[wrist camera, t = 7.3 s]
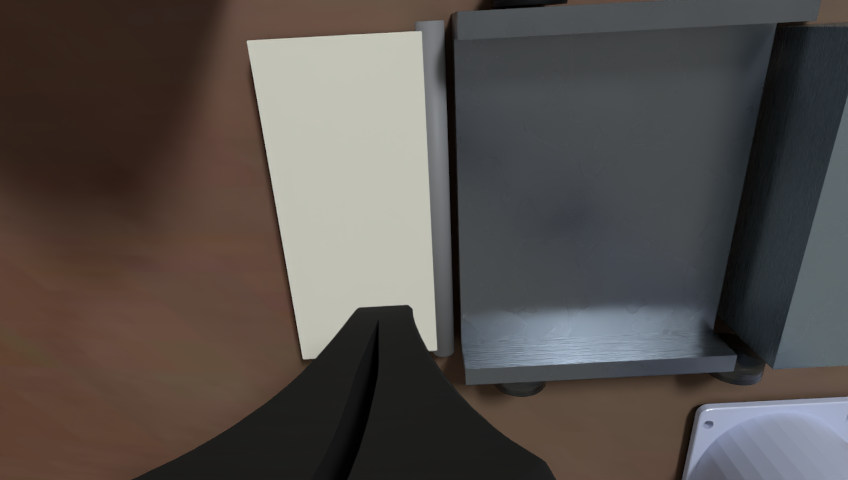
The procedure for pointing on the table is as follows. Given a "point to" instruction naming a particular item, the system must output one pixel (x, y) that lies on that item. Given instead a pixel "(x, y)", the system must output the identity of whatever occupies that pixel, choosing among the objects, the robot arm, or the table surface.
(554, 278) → the grey piece
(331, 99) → the panel
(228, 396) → the table surface
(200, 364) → the table surface
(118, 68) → the table surface
